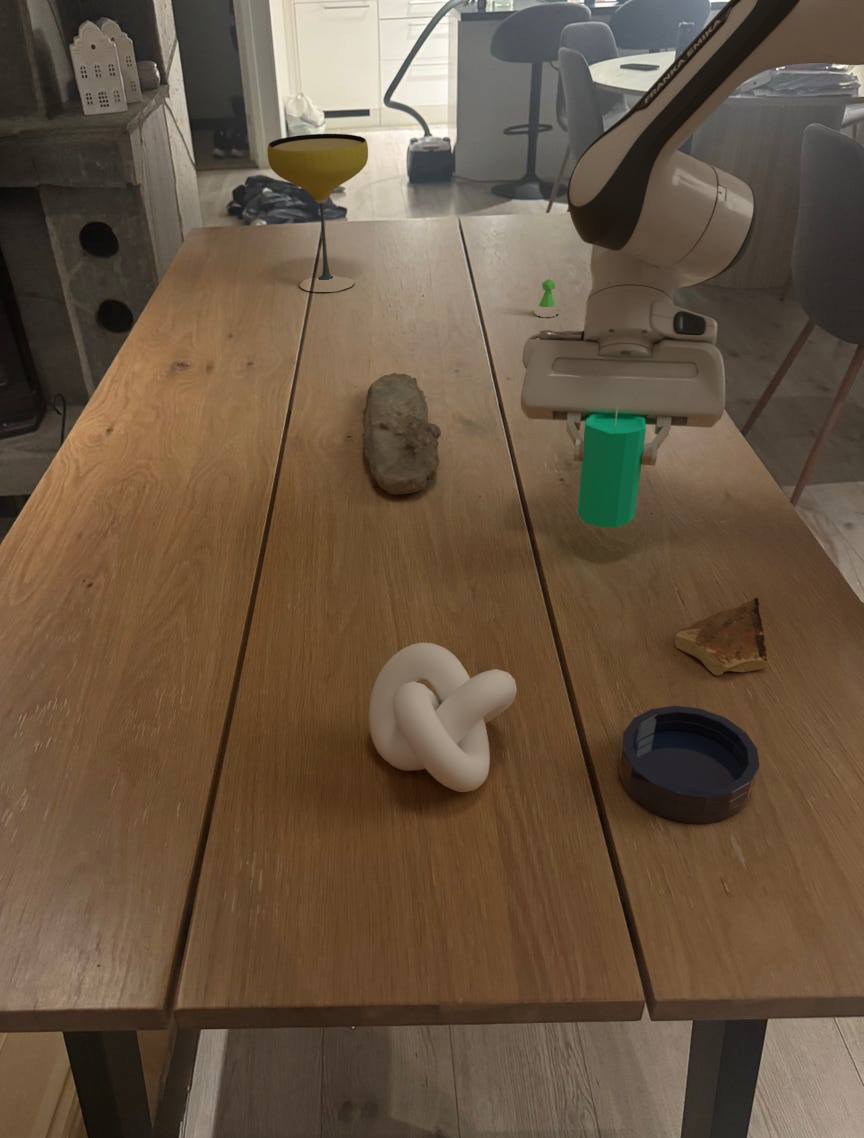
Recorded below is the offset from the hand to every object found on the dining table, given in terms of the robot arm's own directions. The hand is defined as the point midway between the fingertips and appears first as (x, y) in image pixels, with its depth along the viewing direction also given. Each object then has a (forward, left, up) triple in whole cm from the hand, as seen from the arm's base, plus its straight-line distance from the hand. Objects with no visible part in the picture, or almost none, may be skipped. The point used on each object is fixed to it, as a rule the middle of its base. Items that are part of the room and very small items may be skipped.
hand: (614, 461), depth 97 cm
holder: (-20, +28, -11) cm, 36 cm away
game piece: (+42, -68, -11) cm, 81 cm away
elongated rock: (+35, -12, -11) cm, 39 cm away
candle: (+1, -1, -7) cm, 7 cm away
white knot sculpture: (-3, +36, -11) cm, 37 cm away
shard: (-16, +9, -11) cm, 21 cm away
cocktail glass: (+87, -63, -11) cm, 109 cm away
